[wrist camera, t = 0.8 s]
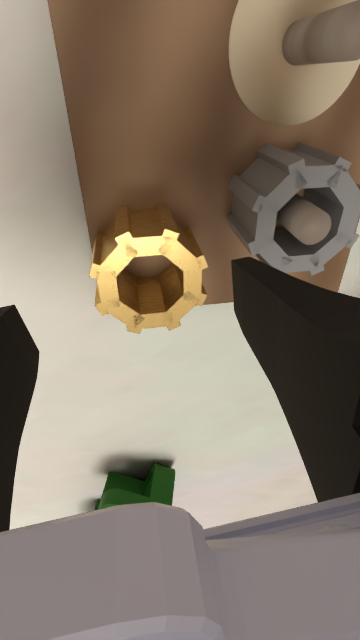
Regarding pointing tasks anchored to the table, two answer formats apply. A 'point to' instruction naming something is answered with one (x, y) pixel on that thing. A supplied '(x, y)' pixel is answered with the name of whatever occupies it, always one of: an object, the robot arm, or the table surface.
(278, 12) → the board
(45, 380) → the table surface
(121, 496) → the clamp
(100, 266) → the brass gear
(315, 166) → the grey gear
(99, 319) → the table surface
